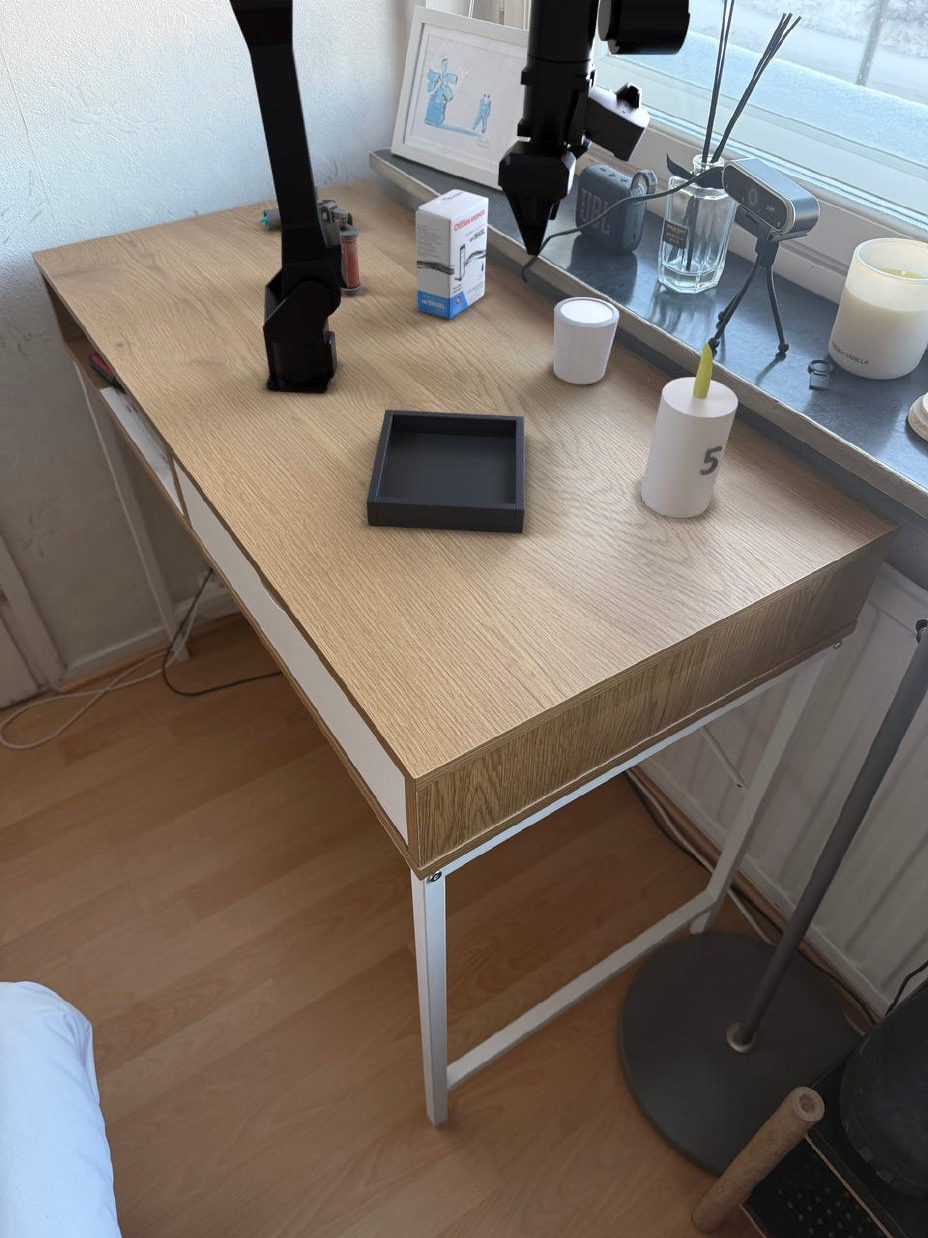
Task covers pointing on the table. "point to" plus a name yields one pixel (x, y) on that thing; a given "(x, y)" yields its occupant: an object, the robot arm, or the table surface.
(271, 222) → the toy gun
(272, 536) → the table surface
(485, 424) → the tray
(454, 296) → the ink box
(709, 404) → the candle
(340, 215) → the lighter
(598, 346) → the white cylinder
